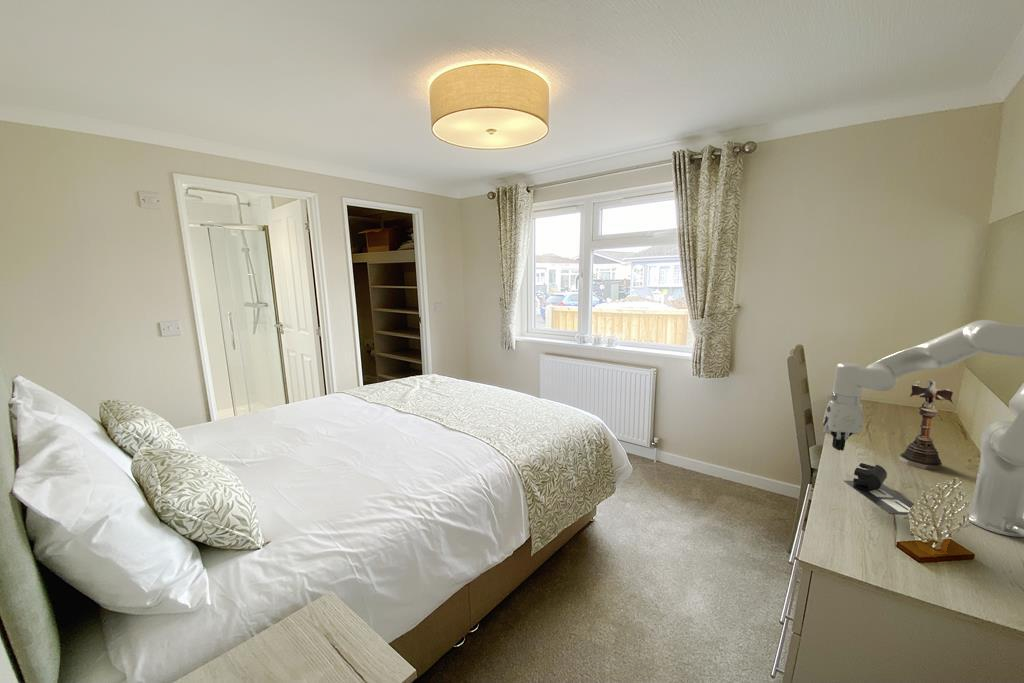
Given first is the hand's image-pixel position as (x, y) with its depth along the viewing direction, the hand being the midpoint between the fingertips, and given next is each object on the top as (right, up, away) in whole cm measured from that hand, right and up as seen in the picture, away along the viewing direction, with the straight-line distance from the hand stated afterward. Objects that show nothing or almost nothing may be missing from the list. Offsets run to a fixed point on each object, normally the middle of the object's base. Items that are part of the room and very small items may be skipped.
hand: (837, 448), depth 137 cm
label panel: (+11, -15, -6) cm, 19 cm away
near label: (+10, -16, -11) cm, 22 cm away
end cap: (+12, -14, +1) cm, 18 cm away
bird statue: (+48, -10, +19) cm, 53 cm away
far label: (+11, -14, -1) cm, 18 cm away
